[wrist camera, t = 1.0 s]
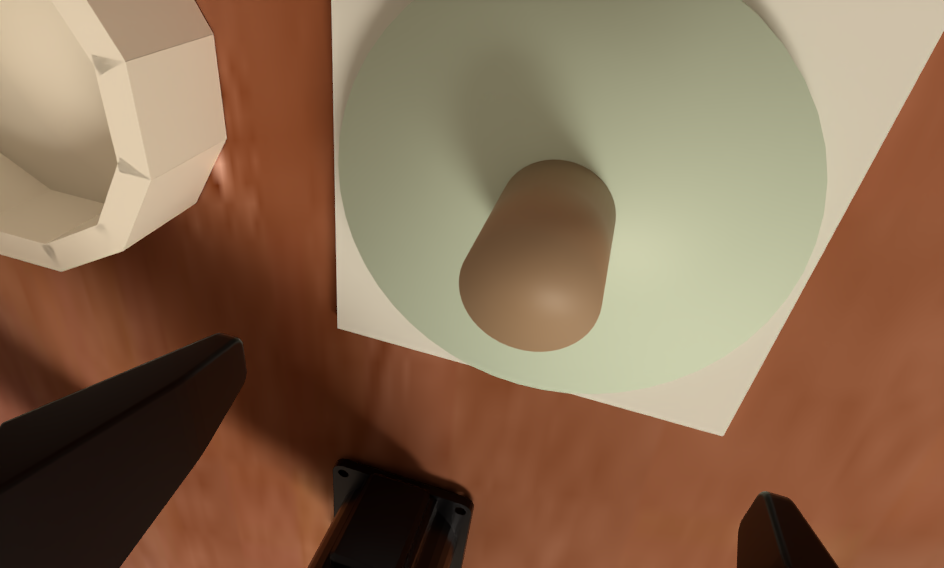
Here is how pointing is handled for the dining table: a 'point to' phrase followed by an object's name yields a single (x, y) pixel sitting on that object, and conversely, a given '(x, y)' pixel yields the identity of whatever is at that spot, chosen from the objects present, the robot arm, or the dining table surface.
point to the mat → (847, 155)
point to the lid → (583, 183)
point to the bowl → (102, 123)
